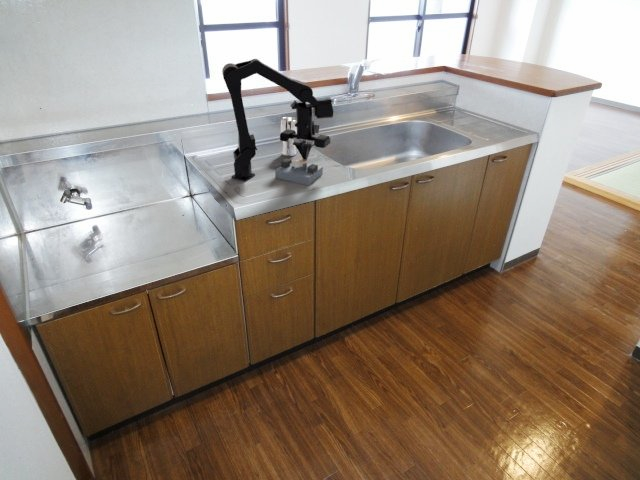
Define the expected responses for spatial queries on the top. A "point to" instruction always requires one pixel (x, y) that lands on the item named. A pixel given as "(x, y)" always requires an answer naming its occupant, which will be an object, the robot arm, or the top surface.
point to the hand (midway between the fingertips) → (305, 159)
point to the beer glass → (288, 146)
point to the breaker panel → (298, 174)
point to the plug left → (286, 163)
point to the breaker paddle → (298, 162)
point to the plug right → (312, 168)
